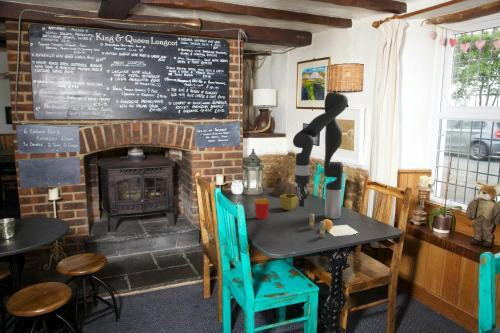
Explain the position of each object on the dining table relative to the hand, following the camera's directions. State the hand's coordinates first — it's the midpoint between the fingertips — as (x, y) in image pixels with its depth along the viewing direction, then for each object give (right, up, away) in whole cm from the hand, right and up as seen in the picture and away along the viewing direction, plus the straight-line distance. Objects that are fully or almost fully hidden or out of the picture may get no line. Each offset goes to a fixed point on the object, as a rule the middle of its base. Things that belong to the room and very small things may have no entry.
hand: (301, 206), depth 203 cm
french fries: (-20, -10, +30) cm, 37 cm away
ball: (+15, -11, +8) cm, 20 cm away
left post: (+7, -13, +11) cm, 19 cm away
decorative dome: (0, 0, +86) cm, 86 cm away
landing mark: (+22, -14, +8) cm, 27 cm away
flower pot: (-2, -7, +48) cm, 49 cm away
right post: (+10, -16, -2) cm, 19 cm away
